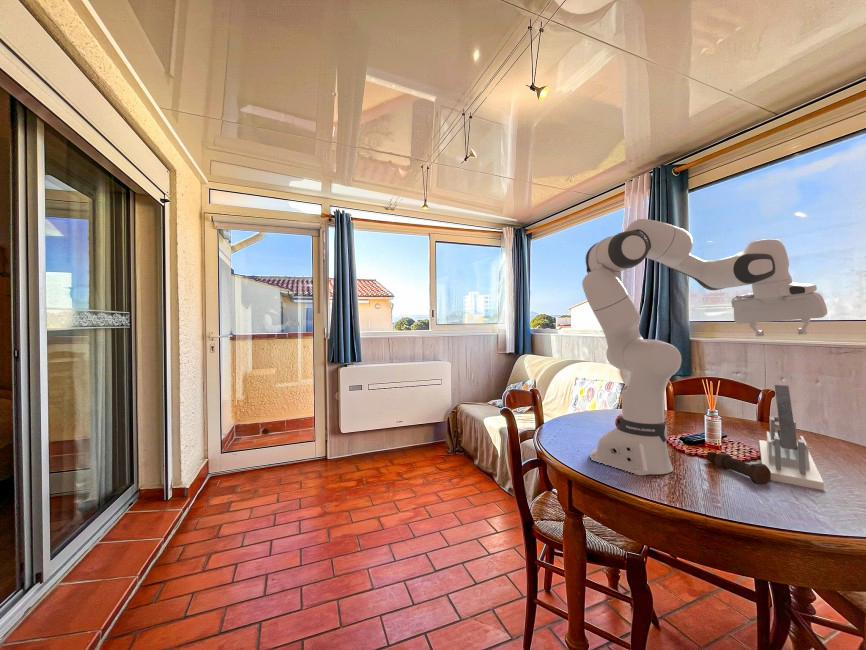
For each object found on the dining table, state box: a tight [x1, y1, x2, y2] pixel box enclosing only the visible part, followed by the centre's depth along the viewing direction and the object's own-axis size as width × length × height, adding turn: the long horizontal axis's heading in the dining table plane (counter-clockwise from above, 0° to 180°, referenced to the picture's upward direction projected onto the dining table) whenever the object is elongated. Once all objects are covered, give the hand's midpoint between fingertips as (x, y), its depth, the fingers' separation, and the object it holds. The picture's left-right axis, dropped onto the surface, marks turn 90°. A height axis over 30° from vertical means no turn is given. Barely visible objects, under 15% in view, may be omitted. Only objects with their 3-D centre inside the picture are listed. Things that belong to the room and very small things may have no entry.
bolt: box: [705, 451, 771, 486], centre depth 97 cm, size 6×5×15 cm
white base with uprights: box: [758, 415, 825, 491], centre depth 101 cm, size 11×32×11 cm, turn 137°
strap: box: [774, 384, 798, 450], centre depth 100 cm, size 3×24×1 cm
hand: (780, 335), depth 104 cm, fingers open, 8 cm apart
